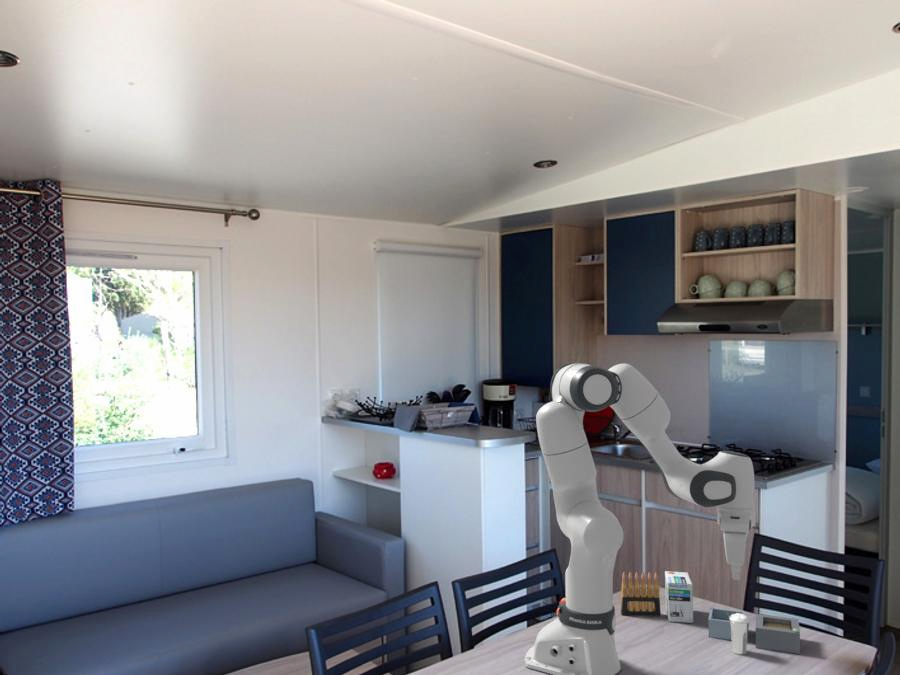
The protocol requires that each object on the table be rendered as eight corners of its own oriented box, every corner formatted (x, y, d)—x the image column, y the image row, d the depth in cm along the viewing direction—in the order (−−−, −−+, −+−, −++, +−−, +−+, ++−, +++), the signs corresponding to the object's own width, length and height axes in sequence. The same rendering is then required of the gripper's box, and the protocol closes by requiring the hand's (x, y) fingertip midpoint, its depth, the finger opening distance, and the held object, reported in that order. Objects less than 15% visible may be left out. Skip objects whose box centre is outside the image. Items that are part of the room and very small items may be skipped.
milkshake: (725, 646, 183) (725, 606, 183) (748, 649, 182) (748, 608, 182) (726, 654, 179) (726, 613, 179) (750, 656, 177) (749, 615, 177)
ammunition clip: (621, 615, 205) (621, 572, 205) (620, 612, 207) (620, 570, 207) (660, 616, 204) (660, 573, 204) (659, 613, 206) (658, 571, 206)
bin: (708, 636, 189) (708, 619, 189) (711, 624, 197) (710, 607, 197) (744, 641, 186) (744, 623, 186) (745, 629, 194) (745, 612, 194)
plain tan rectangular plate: (764, 633, 183) (764, 630, 183) (764, 625, 189) (764, 622, 189) (790, 637, 181) (790, 634, 181) (790, 628, 187) (790, 625, 187)
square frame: (755, 647, 182) (755, 625, 182) (756, 632, 192) (756, 611, 192) (800, 654, 178) (799, 631, 178) (798, 638, 188) (798, 616, 188)
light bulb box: (693, 623, 198) (693, 584, 198) (668, 622, 200) (667, 582, 200) (689, 609, 209) (688, 571, 209) (664, 608, 210) (664, 570, 210)
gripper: (724, 506, 191) (725, 559, 191) (720, 525, 172) (721, 584, 172) (750, 508, 189) (751, 562, 189) (748, 527, 170) (750, 587, 170)
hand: (736, 573), depth 180 cm, fingers open, 8 cm apart
